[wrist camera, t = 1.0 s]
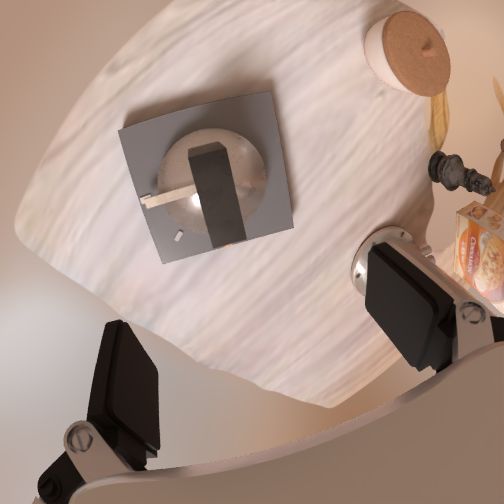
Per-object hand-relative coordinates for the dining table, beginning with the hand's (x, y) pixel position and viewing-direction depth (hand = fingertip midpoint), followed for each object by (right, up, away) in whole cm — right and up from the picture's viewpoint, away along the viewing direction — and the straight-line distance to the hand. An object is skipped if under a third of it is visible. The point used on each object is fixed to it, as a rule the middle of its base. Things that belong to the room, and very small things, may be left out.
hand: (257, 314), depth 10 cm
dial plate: (-5, +11, +20) cm, 23 cm away
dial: (-4, +10, +19) cm, 21 cm away
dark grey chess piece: (+30, +16, +26) cm, 43 cm away
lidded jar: (+17, +28, +17) cm, 37 cm away
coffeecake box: (+43, +5, +35) cm, 56 cm away
